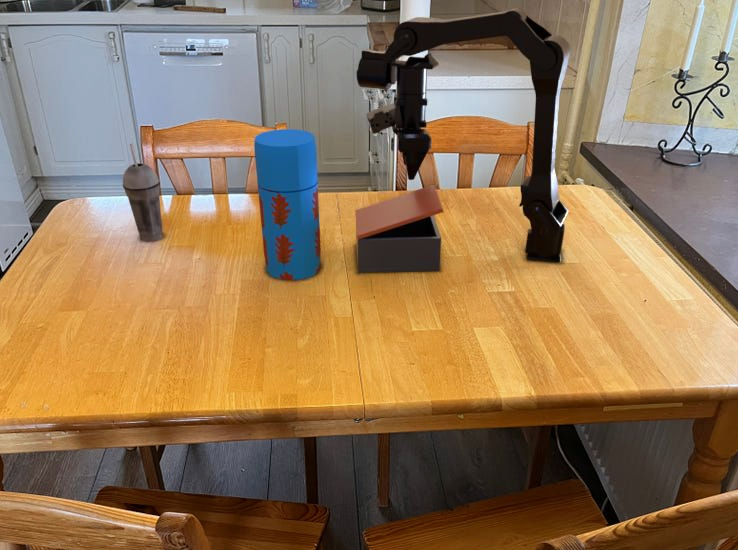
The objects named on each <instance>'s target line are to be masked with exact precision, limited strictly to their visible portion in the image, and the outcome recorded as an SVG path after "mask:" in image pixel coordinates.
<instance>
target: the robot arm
mask: <svg viewBox="0 0 738 550" xmlns="http://www.w3.org/2000/svg"><path fill="white" fill-rule="evenodd" d="M498 37H507V38H508V39H509V40H510V41H511V42H512V43H513V44H514V46H515V47H516V49H517V50H518V51H519V52H520V53H521V54H522V55H523V56H524V57H525V58H526V59H527V60H528V61H529V67H530V69H529V70H530V76H531V82H532V87H533V91H534V94H535V107H534V123H533V124H534V125H533V141H532V159H531V160H532V161H531V174H530V175H527V176H526V177H525V179H524V180H523V182H522V183H521V185H520V197H521V199H520V202H519V205H518V206H519V207H522V213H523V216H524V217H526V219H527V220H528V221H529V225H530V228H529V229H528V228H527V234H526V242H525V249H524V252H525V254H526V260H529V261H538V262H548V263H556V264H557V263H561V261H562V249H563V248H562V247H563V242H564V236H565V223H564V222H565V220H566V218H567V216H568V213H569V210H568V209H567V207H566V206H565V205H564V204H563V202H562V201H561V200H560V193H559V183H558V179H557V174H556V171H555V164H556V151H557V150H556V148H557V133H558V122H559V106H560V93H561V89H562V86H563V83H564V79H565V76H566V74H567V73H566V72H567V69H568V64H569V61H570V58H571V57H570V56H571V46H570V43H569V42H568V41H567V39H566V38H565V37H563V36H561V35H557V34H552V32H550V31H549V30H548V29H547V28H546V27H545V26H543V25H541V24H540V23H539V22H537V21H536V20H534V19H533V18H531V17H530V16H529V15H528V14H527V13H526V12H525V11H524V10H523V9H522V8H518V7H513V8H511V9H509V10H504V11H497V12H490V13H484V14H478V15H470V16H464V17H463V16H462V17H456V18H451V19H444V18H443V19H442V18H437V17H426V16H416V17H413V18H410V19H408V20H405V21H403V22H400V23H399V24H397V26H396V28H395V30H394V33H393V41H392V42H391V44H390V45H389V46H388V48H387V49H386V50H383V51H382V50H374V49H370V48H365V49H363V50H361V57H360V59H359V62H358V65H357V70H356V80H357V81H356V82H357V84H358V86H359V87H360V88H366V89H367V88H368V89H376V90H390V89H391V88H392V86H393V85H395V84H396V89H395V92H396V93H395V95H394V96H393V102H392V103H390V104H387V105H384V106H383V105H382V106H381V107H378V108H376V109H373V110H371V111H369V112H367V113H366V119H367V122H368V124H369V125H368V126H369V127H370V130H371V133H372V134H373V135H374V134H375V135H376V134H378V133H380V132H381V131H383V130H386V129H388V128H389V129H390V128H391V129H392V132H393V133H394V135H396V148H397V151H398V152H399V153H401V156H402V160H403V165H404V166H405V167H406V173H407V179H408V180H409V181H414V180H415V179H416V176H417V174H418V172H419V170H420V168H421V166H422V164H423V162H424V160H425V158H426V156H427V154H428V153H429V151H430V150H431V149H432V136H431V135H430V132H428V130H427V129H426V128H427V120H426V107H427V106H428V98H427V87H428V86H427V85H428V84H427V82H428V70H433V69H436V68H437V67H439V65H440V64H439V61H437V60H436V58H434V57H433V55H432V53H431V52H429V53H427V54H425V55H424V57H423V56H415V55H417V54H420V53H423V52H426V51H427V52H428V51H429V50H432V49H434V48H437V47H440V46H443V45H446V44H453V43H455V44H456V43H461V42H469V41H476V40H484V39H492V38H498ZM404 56H405V57H408V58H407V59H406V60H400V58H402V57H404Z"/></svg>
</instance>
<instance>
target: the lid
mask: <svg viewBox="0 0 738 550" xmlns="http://www.w3.org/2000/svg"><path fill="white" fill-rule="evenodd" d="M442 213H444V208H443V205H442V202H441V200H440V197H439V194H438V191H437V188H436V186H435V184H431V185H428V186H425V187H421V188H418V189H416V190H413V191H410V192H407V193H404V194H400V195H397V196H395V197H394V196H393V197H392V198H387V199H386V200H382V201H379V202H377V203H374V204H370V205H368V206H364V207H361V208H358V209H356V210H355V227H356V226H357V237H358V239H362V238H365V237H368V236H371V235H374V234H377V233H380V232H383V231H386V230H389V229H393V228H396V227H399V226H402V225H405V224H408V223H411V222H414V221H417V220H420V219H424V218H427V217H430V216H433V215H434V216H436V215H439V214H442Z"/></svg>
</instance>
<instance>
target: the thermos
mask: <svg viewBox="0 0 738 550" xmlns="http://www.w3.org/2000/svg"><path fill="white" fill-rule="evenodd" d="M253 149H254V150H253V152H254V160H255V162H254V163H255V171H256V182H257V183H256V184H257V192H258V193H257V194H258V204H259V211H260V212H259V213H260V214H259V215H260V225H261V234H262V245H263V247H262V248H263V257H264V262H265V269H266V273H267V274H268V275H269V276H270V277H273V278H275V279H278V280H283V281H299V280H305V279H307V278H312V277H313V276H315V275H316V274H318V273H319V272H320V269H321V260H322V258H321V256H322V254H321V253H322V249H321V248H322V246H321V245H322V244H321V226H320V203H319V202H320V201H319V182H318V181H319V180H318V179H319V178H318V156H317V155H318V154H317V144H316V138H315V135H314V134H313V133H311V132H310V131H307V130H302V129H293V128H291V129H289V128H287V129H286V128H282V129H272V130H268V131H263V132H261V133H259V134H257V135H255V137H254V147H253Z"/></svg>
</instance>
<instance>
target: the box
mask: <svg viewBox="0 0 738 550" xmlns="http://www.w3.org/2000/svg"><path fill="white" fill-rule="evenodd" d="M355 246H356V260H357V273H358V274H368V273H369V274H371V273H375V274H376V273H417V272H419V273H421V272H440V266H441V253H442V252H441V250H442V236H441V233H440V230H439V226H438V223H437V220H436V217H435V215H433V216H430V217H427V218H424V219H420V220H417V221H414V222H411V223H408V224H405V225H402V226H399V227H396V228H393V229H389V230H386V231H383V232H380V233H377V234H374V235H371V236H368V237H365V238H362V239H358V237H357V226H356V225H355Z"/></svg>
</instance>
